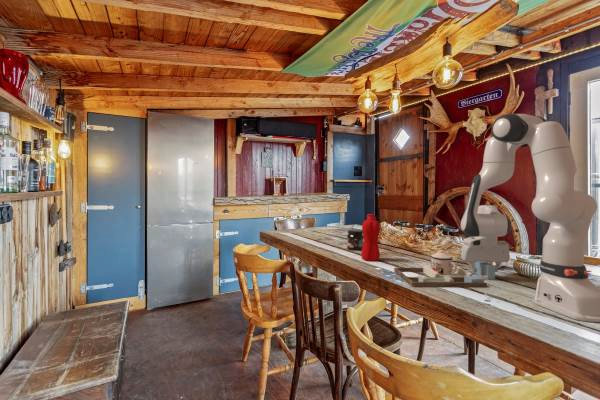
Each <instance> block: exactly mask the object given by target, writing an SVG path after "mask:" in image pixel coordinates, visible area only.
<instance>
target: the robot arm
mask: <svg viewBox="0 0 600 400" xmlns="http://www.w3.org/2000/svg"><path fill="white" fill-rule="evenodd" d="M491 134H492V136H491V137H489V138H488V139H487V141H486V144H485V148H484V151H483V152H484V153H483V159H482V161H483V162H482V167H481V169H480V171H479V173H478V174H477V175H475V176H473V179H472V181H471V184H470V186H469V187H470V188H469V190H468V191H469V192H468V196H467V199H466V204H465V207H464V211H463V214H462V217H461V221H460V230H461V232H463V233H464V235H466V236H467V237H466V238H464V239H463V240H462V241H463V242H462V243H464V244H463V245H462V247H461V253H460V258H461V260H462V261H463V262H466V263H468V264H469V263H470V265H471V270H472V271H473V272H477V268H476V267H475V266H474V264H475V262H488V263H495V265H494V266H495V273H498V272H499V268H500V266H501V265H502V263H508V262H509V261H510V259H511V258H510V257H511V256H510V244H509V242H507V241H506V240H498V239H499V237H505V236H507V235H509V234H510V232H511V229H512V220H511V218H510V217H509V216H508V215H506V214H504V213H501V212H500V211H499V209H498V206H497V205H495V204H480V202H481V199H482V195H483V194H484V193H485V192H486V191H487V190H488V189H491V188H493V187H496V186H499V185H502V184H504V183H506V182H507V181H509V180H510V179H511V178H512V177H513V175H514V174H515V173H514V172H515V166H516V165H515V164H516V163H515V162H516V152H517V150H518V149H519V148H520V147H521V148H526V147H529V149H530V155H531V157H532V158H531V159H532V162H533V167H534V171H535V178H536V187H535V189H536V190H535V197H534V198H533V199H532V203H531V212H532V213H533V215H534V216H535V217H536V218H537V219H539V220H540V221H543V222H546V223H550V224H549V228H548V230H547V232H546V233H545V235H544V236H543V238H542V254H541V260H540V263H539V270H540V276H539V277H538V279H537V284H536V290H535V295H534V298H532V304H534V305H538V306H539V307H543V308H545V309H547V310H550V311H553V312H555V313H557V314H560V315H562V316H565V317H568V318H570V319H574V320H577V321H584V322H590V323H591V322H592V323H593V322H594V323H600V289H598V287H596V285H595V284H594V283H593V282H592V281H591V280H590V279H589V275H592V270H588V269H587V267H586V265H585V252H586V250H585V249H586V248H585V247H586V246H585V245H586V240H587V237H588V233H589V229H590V226H591V222H592V219H593V216H594V215H595V213H596V212H597V209H598V204H597V203H598V202H597V201H596V199H595V198H594V197H593V196H592V195H590V194H589V193H586V192H584V191H580V190H575V176H576V174H577V171H578V168H577V166H576V161H575V157H574V153H573V150H572V146H571V142H570V140H569V137H568V135H567V133H566V131H565V129H564V127H563V125H562V124H561V123H560V122H558V121H552V120H550V121H548V120H547V119H545V118H543V117H542V116H538V115H531V114H527V113H506V114H502V115H500V116H498V117H496V119H494V121H493V123H492V124H491ZM470 265H469V266H470Z"/></svg>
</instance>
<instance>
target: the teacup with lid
mask: <svg viewBox="0 0 600 400" xmlns="http://www.w3.org/2000/svg"><path fill="white" fill-rule="evenodd" d="M430 257H431V259H430V263H431V264H430V268H431V269H432V270H434V271H435V272H437V273H439V276H444V275H447V276H453V274H456V273H455V272H456V270H457V264H456V263H455V262H453V259H454V258H453V256H452V255H450V254H449V253H447V252H445V250H444V249H440V250H439V251H437V252H435V253H432V254H431V255H430ZM452 268H454V271H453V272H452Z"/></svg>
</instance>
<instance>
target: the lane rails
mask: <svg viewBox="0 0 600 400" xmlns="http://www.w3.org/2000/svg"><path fill="white" fill-rule="evenodd" d="M393 272H394V273H395V274H397V275H398V276H399V277H400V278H401V279H403V281H405V282H406V283H407V284H408V285H409V286H410V287H413V288H415V287H416V288H418V287H419V288H426V287H427V288H432V287H433V288H487V287H488V286H487V285H488V283H487V282H485V281H484V282H464V277H450V278H452V279H453V280H454V282H418V276H407V275H406V274H405V273H406V272H407V273H408V272H410V273H413V272H414V273H415V272H416V273H417V272H418V273H419V272H421V273H424V272H423V267H394V268H393ZM403 272H405V273H403ZM423 277H424V278H444V277H429V276H426V277H425V276H423Z"/></svg>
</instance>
